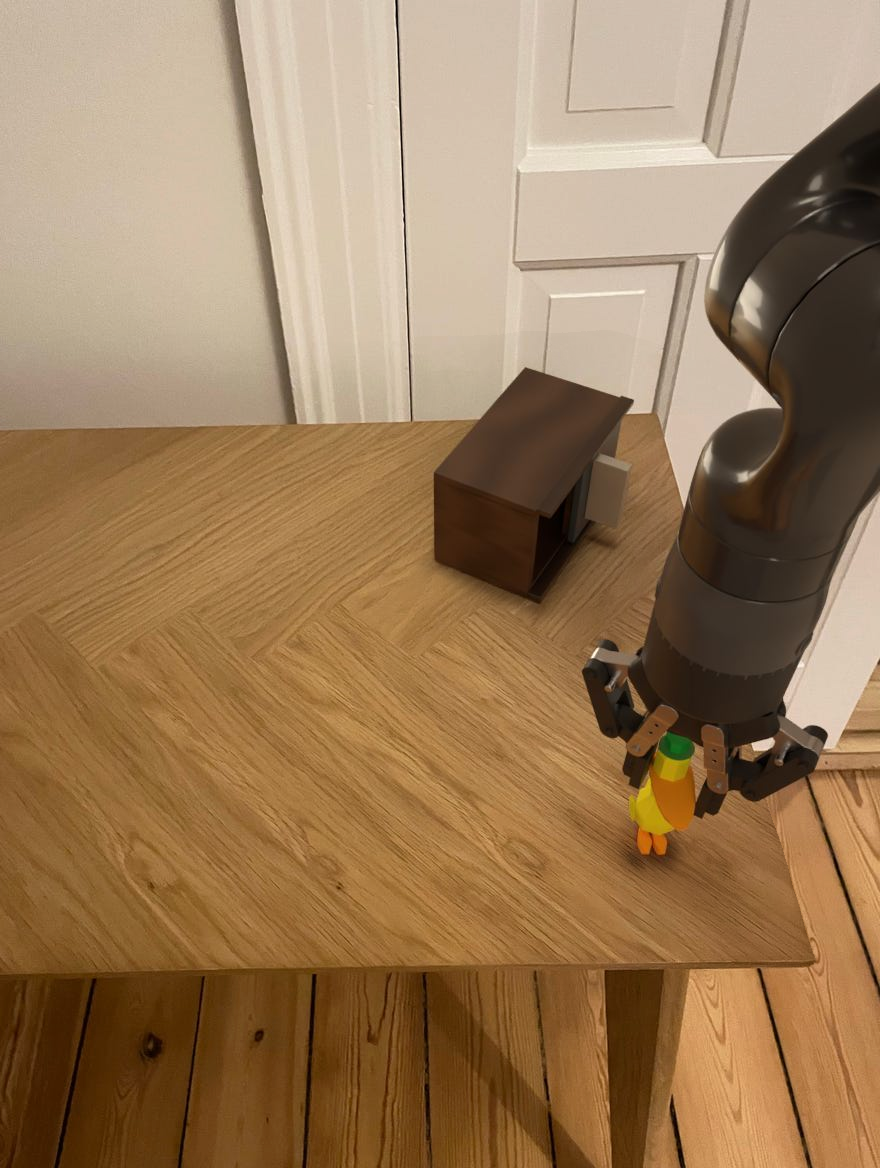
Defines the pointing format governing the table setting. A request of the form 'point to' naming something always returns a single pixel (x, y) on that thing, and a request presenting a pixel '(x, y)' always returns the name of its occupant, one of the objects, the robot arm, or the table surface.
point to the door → (600, 490)
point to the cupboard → (521, 482)
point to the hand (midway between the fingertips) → (669, 790)
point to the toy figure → (665, 794)
